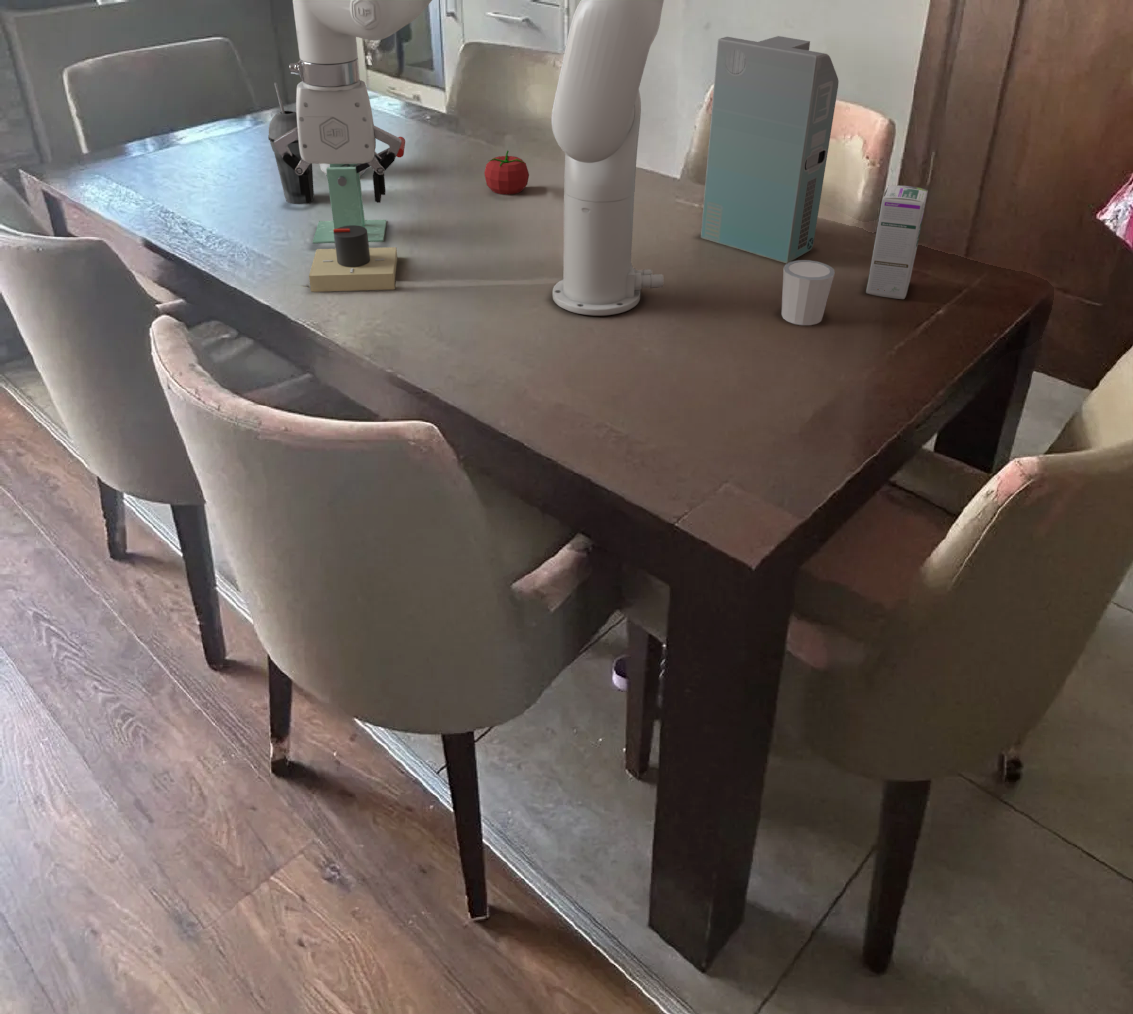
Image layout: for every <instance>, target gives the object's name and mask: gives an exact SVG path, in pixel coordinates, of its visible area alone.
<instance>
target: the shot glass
mask: <svg viewBox="0 0 1133 1014" xmlns="http://www.w3.org/2000/svg"><path fill="white" fill-rule="evenodd" d="M782 272H783V273H782V274H783V275H782V289H781V290H782V293H781V312H780V313H781V318H782V319H783V320H784V321H786V322H788V323H790V324H793V325H799V326H812V325H817V324H819V323H821V322H822V321H823V317H824V314H825V310H826V306H827V303H828V298H829V296H830V291H831V288H832V284H833V280H834V278H835V274H836V273H835V272H836V271H835V269H834V268H833V267H832V266H831V265H829V264H827V263H824V262H820V261H817V260H811V259H798V260H792V261H791V262H789V263H787V264H786V263H784V266H783V271H782Z"/></svg>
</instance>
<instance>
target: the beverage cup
mask: <svg viewBox="0 0 1133 1014" xmlns="http://www.w3.org/2000/svg"><path fill="white" fill-rule="evenodd" d="M274 88H275V91H276V96H277V98H278V100H277V101H278V103H279V107H280V111H279V112H277V113H276V114H275V115H274V116H273V118H271V120H270V122H269V126H268V141H269V143H270V147H271V149H272V152H273V153H274V158H275V162H276V167H277V170H278V174H279V175H278V176H279V178H280V182H281V186H282V190H283V194H284V198H285V201H286V202H287V203H288V204H291V205H302V204H307V203H306V198H305V195H301V192H300V184H299V177H298V175H297V174H296V173H295V170H293V169H292V168H291V167H290V166H289V165H288V164H286V163H285V162H284V161H283V158H282V156H281V155H280V154H279V152H278V151H277V149H276V148H275V146H274V141H275V139H276V138H278V137H280V136H281V135H283V134H285V133H287V132H289V131H290V130H292V129H294V128H296V127H297V113H296V111H293V110H285V107H284V103H283V100H282V96H281V93H280V88H279V85H278V82H274ZM287 146H288V148H289V150H290V151H291V152H292V153H293V154H294V155H295V156H297V157H298V158H299V159H300V158H301V155H300V150H299V140H298V139H297V140H295V141H294V142H292V143H290V144H288V145H287ZM308 168H309V170H310V171H311V178H312V186H313V187H314V172H313V163H310V165H309V166H308ZM314 190H315V189H314V188H313V194H314V196H315V193H314V192H315V191H314ZM314 196H313V199H312V202H313V200H314Z"/></svg>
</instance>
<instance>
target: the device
mask: <svg viewBox="0 0 1133 1014" xmlns="http://www.w3.org/2000/svg"><path fill="white" fill-rule="evenodd" d="M810 45H811V41H810V40H805V39H801V38H800V39H799V38H793V37H786V36H781V35H776V36H773V37H770V38H766V39H763V40H760V41H756V40H755V41H754V40H749V39H743V38H737V37H732V36H724V37H721V38H718V39H717V47H716V59H715V71H714V80H713V81H714V82H713V91H712V92H713V93H712V104H711V114H710V126H709V128H710V129H709V137H708V138H709V139H708V149H707V161H706V172H705V184H704V194H703V205H702V217H701V229H700V239H703V240H706V241H710V242H713V243H717V244H719V245H723V246H726V247H730V248H733V249H736V250H740V251H743V252H745V253H750V254H753V255H757V256H760V257H764V258H767V259H769V260H773V261H777V262H780V263H784V264H787V263H789V262H792V261H795V260H796V259H797V258H799V257H801V256H803V255H804V254H806V253H808V252H809V251H810V252H811V250H812V249H813V247H814V243H815V237H816V229H817V225H818V218H819V211H820V204H821V198H822V193H823V187H824V186H823V185H824V178H825V174H826V167H827V160H828V155H829V148H830V142H831V134H832V128H833V122H834V116H835V109H836V102H837V96H838V91H839V82H840V81H839V76H838V75H837V71H836V68H835V66H834V64H833V61H832V58H831V56H830V54H828V53H825V52H819V51H812V50H810V47H811V46H810Z"/></svg>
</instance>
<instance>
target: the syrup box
mask: <svg viewBox="0 0 1133 1014" xmlns="http://www.w3.org/2000/svg"><path fill="white" fill-rule="evenodd" d="M928 192H929V191H928V189H926V188H921V187H917V186H910V185H890V184H888V185H887V187H886V189H885V191H884V193H883V196H882V199H881V205H880V212H879V215H878V220H877V221H878V222H877V228H876V232H875V238H874V243H873V249H872V256H871V261H870V267H869V272H868V277H867V283H866V289H865V293H866V294H867V295H871V296H875V297H883V298H889V299H899V300H905V298H906V297H907V294H908V290H909V286H910V282H911V278H912V274H913V269H914V263H915V260H916V254H917V249H918V246H919V240H920V236H921V229H922V223H923V219H924V213H925V207H926V204H927V203H926V202H927V198H928ZM877 289H879V290H877ZM884 290H885V291H884Z"/></svg>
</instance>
